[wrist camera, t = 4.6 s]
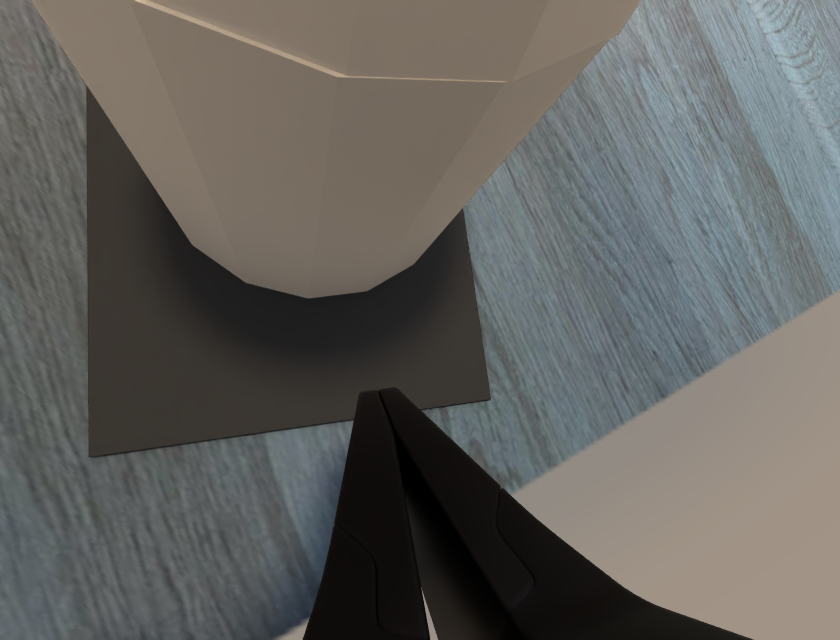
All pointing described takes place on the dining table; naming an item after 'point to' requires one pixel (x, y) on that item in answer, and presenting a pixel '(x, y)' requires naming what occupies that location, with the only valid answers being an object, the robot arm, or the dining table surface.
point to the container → (325, 116)
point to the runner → (250, 327)
